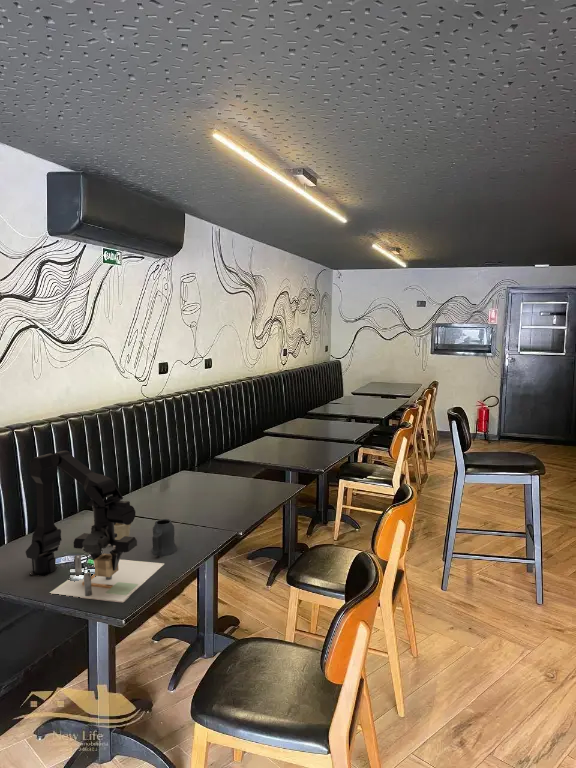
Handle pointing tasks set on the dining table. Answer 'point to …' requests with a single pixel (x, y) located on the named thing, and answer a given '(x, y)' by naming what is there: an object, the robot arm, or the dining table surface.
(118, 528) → the flower pot
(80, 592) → the course mat
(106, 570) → the oak open box
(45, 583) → the dining table surface
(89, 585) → the wire and posts
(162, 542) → the dark grey holder
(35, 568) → the robot arm
